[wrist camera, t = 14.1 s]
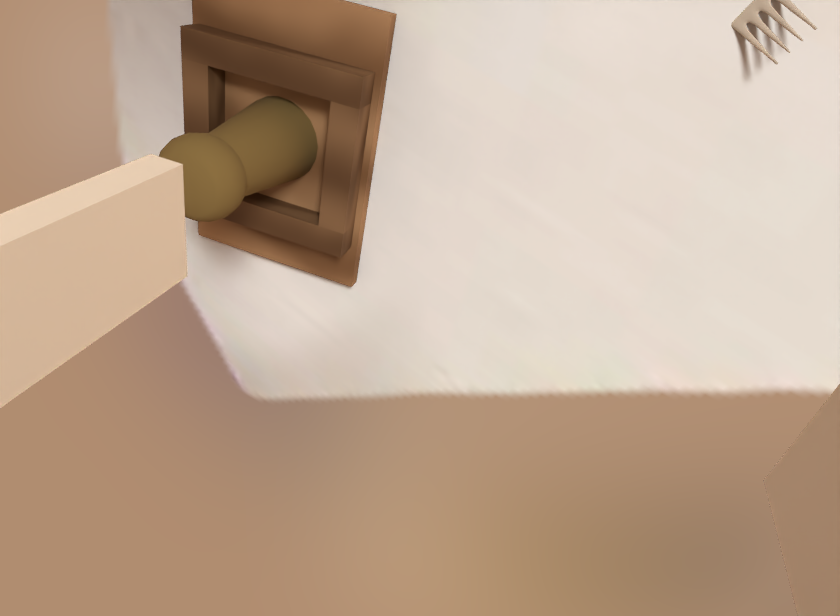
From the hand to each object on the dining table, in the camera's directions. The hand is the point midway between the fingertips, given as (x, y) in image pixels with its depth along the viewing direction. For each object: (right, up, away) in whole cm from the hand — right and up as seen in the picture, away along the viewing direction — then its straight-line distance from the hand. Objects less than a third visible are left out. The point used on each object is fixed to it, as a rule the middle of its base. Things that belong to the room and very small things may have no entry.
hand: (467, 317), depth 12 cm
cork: (-11, +12, +31) cm, 35 cm away
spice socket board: (-11, +13, +31) cm, 36 cm away
